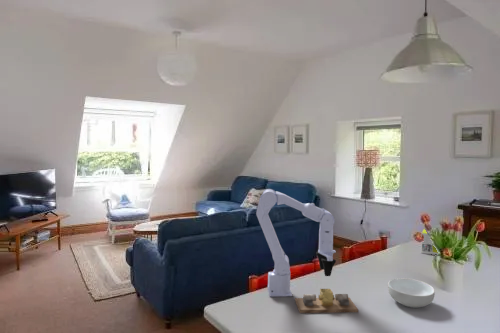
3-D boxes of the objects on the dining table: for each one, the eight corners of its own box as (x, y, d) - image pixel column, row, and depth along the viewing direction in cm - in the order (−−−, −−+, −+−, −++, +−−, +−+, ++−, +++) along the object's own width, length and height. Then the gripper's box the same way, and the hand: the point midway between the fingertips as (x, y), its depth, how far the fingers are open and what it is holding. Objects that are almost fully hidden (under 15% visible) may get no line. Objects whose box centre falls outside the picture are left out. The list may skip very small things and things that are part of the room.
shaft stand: (299, 312, 132) (299, 300, 132) (295, 301, 142) (295, 289, 142) (357, 312, 133) (358, 299, 132) (349, 300, 143) (349, 288, 142)
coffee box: (445, 256, 200) (445, 235, 199) (420, 253, 206) (421, 232, 205) (445, 251, 211) (446, 230, 210) (422, 248, 217) (423, 228, 216)
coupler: (320, 305, 135) (320, 293, 135) (317, 301, 139) (318, 288, 139) (334, 305, 135) (335, 292, 135) (331, 301, 139) (332, 288, 139)
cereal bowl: (378, 298, 145) (378, 281, 145) (408, 291, 152) (409, 275, 151) (412, 316, 130) (412, 298, 129) (444, 308, 136) (444, 290, 136)
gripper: (340, 245, 140) (339, 278, 141) (330, 235, 154) (330, 266, 155) (322, 245, 140) (322, 279, 140) (314, 235, 154) (314, 266, 155)
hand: (325, 272), depth 148 cm, fingers open, 7 cm apart
